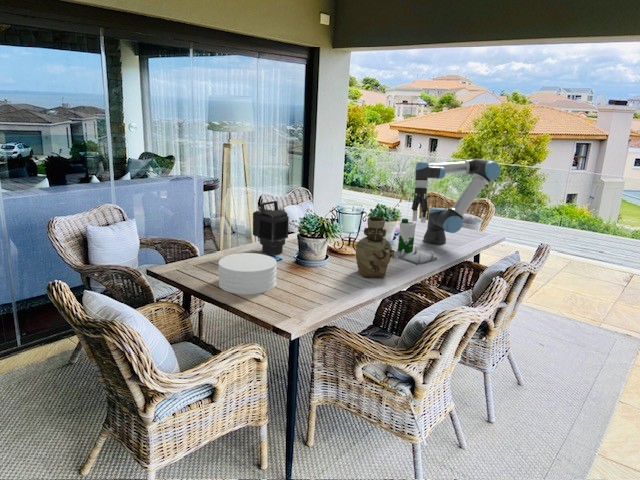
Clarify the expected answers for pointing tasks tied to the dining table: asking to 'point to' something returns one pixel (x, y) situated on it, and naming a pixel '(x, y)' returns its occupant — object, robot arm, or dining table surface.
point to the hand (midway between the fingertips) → (418, 221)
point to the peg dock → (417, 257)
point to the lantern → (271, 228)
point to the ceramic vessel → (374, 250)
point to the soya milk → (406, 235)
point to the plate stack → (247, 273)
